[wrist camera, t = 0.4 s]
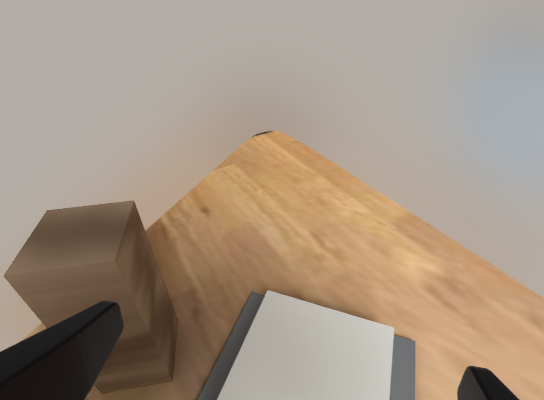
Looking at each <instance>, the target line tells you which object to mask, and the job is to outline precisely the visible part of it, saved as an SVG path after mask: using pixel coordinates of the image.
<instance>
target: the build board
mask: <svg viewBox="0 0 544 400" xmlns="http://www.w3.org/2000/svg"><path fill="white" fill-rule="evenodd" d="M198 400H415V341H412V340H409V339H406V338H402V337H399V336H396V335H394V328H393V327H390V326H387V325H383V324H380V323H377V322H373V321H370V320H367V319H363V318H360V317H356V316H353V315H350V314H346V313H343V312H340V311H336V310H333V309H330V308H326V307H323V306H320V305H316V304H313V303H310V302H306V301H303V300H300V299H296V298H293V297H289V296H286V295H283V294H279V293H276V292H273V291H269V290H267V292H266V295H261V294H258V293H255V292H252V293H251V295H250V297H249V299H248V301H247V303H246V305H245V307H244V309H243V311H242V313H241V315H240V317H239V319H238V321H237V323H236V325H235V327H234V329H233V331H232V333H231V335H230V337H229V339H228V341H227V343H226V345H225V347H224V349H223V351H222V352H221V354H220V356H219V358H218V360H217V362H216V364H215V366H214V368H213V370H212V372H211V374H210V376H209V378H208V380H207V382H206V384H205V386H204V388H203V390H202V392H201V394H200V396H199V398H198Z"/></svg>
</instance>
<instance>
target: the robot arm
mask: <svg viewBox="0 0 544 400" xmlns="http://www.w3.org/2000/svg"><path fill="white" fill-rule="evenodd" d="M123 328H124V322H123V318H122V313H121V309H120V305H119V304H118V303H117V302H113V301H107V300H104V301H101V302H99V303H97V304H95V305H93V306H91V307H89V308H87V309H85V310H83V311H81V312H79V313H77V314H75V315H73V316H71V317H69V318H67V319H65V320H63V321H61V322H59V323H57V324H55V325H53V326H51V327H49V328H47V329H45V330H43V331H41V332H39V333H37V334H35V335H33V336H31V337H29V338H27V339H25V340H23V341H21V342H19V343H17V344H15V345H13V346H11V347H9V348H7V349H5V350H3V351H1V352H0V400H84V399H85V397H86V396H87V394H88V393H89V391H90V390H91V388H92V386H93V385H94V383H95V381H96V379H97V378H98V376H99V374H100V372H101V370H102V369H103V367H104V365H105V363H106V361H107V359H108V358H109V356H110V354H111V352H112V350H113V348H114V347H115V345H116V343H117V341H118V339H119V337H120V335H121V334H122V331H123ZM457 396H458V400H519V399H518V398H517V397H516V396H515V395H514V394H513V393H512V392H511V391H510V390H509V389H508V388H507V387H506V386H505V385H504V384H503V383H502V382H501V381H500V380H499V379H498V378H497V377H496V376H495V375H494V374H493V373H492V372H491V371H490V370H488V369H486V368H481V367H475V366H468V367H467V368H466V370H465V372H464V375H463V377H462V380H461V382H460V385H459V387H458V392H457Z"/></svg>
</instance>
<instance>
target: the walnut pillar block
mask: <svg viewBox="0 0 544 400" xmlns="http://www.w3.org/2000/svg"><path fill="white" fill-rule="evenodd" d="M4 277H5V279H6V280H7V281H8V282H9V283H10V284H11V286H12V287H13V288H14V289H15V290H16V291H17V293H18V294H19V295H20V296H21V297H22V299H23V300H24V301H25V302H26V304H27V305H28V306H29V307H30V308H31V310H32V311H33V312H34V313H35V314H36V316H37V317H38V318H39V319H40V320H41V322H42V323H43V324H44V325H45V326H46V328H49V327H51V326H53V325H55V324H57V323H59V322H61V321H63V320H65V319H67V318H69V317H71V316H73V315H75V314H77V313H79V312H81V311H83V310H85V309H87V308H89V307H91V306H93V305H95V304H97V303H99V302H101V301H104V300H107V301H113V302H117V303H118V304H119V305H120V309H121V313H122V318H123V322H124V328H123V331H122V334H121V335H120V337H119V339H118V341H117V343H116V345H115V347H114V348H113V350H112V352H111V354H110V356H109V358H108V359H107V361H106V363H105V365H104V367H103V369H102V370H101V372H100V374H99V376H98V378H97V379H96V381H95V383H94V385H95V386H96V387H97V389H98V390H99V391H100V392H101V393H107V392H112V391H118V390H123V389H129V388H135V387H140V386H146V385H151V384H157V383H162V382H168V381H173V369H174V358H175V346H176V335H177V323H178V319H177V317H176V314H175V311H174V309H173V306H172V303H171V300H170V298H169V295H168V292H167V289H166V287H165V284H164V281H163V279H162V276H161V273H160V270H159V268H158V265H157V262H156V259H155V257H154V254H153V251H152V249H151V246H150V243H149V240H148V238H147V235H146V232H145V230H144V227H143V224H142V221H141V219H140V216H139V213H138V211H137V208H136V205H135V202H134V201H126V202H117V203H108V204H99V205H91V206H83V207H73V208H64V209H55V210H47V211H46V213H45V214H44V216H43V217H42V219H41V220H40V222H39V223H38V225H37V226H36V228H35V229H34V231H33V232H32V234H31V235H30V237H29V238H28V240H27V241H26V243H25V244H24V246H23V248H22V249H21V250H20V252H19V253H18V255H17V256H16V258H15V260H14V261H13V262H12V264H11V265H10V267H9V268H8V270H7V271H6V273H5V275H4Z"/></svg>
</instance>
